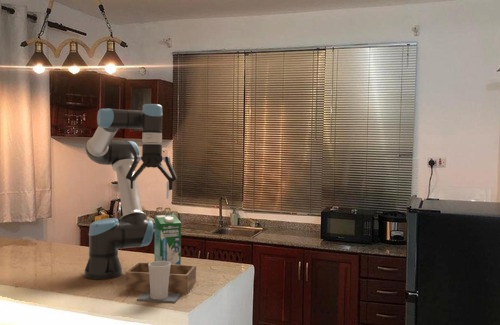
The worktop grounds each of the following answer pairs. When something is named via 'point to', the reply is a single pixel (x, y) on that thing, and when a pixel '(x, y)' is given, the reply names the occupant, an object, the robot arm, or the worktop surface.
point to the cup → (159, 279)
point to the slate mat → (170, 299)
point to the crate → (179, 278)
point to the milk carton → (167, 239)
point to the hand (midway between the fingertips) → (151, 197)
